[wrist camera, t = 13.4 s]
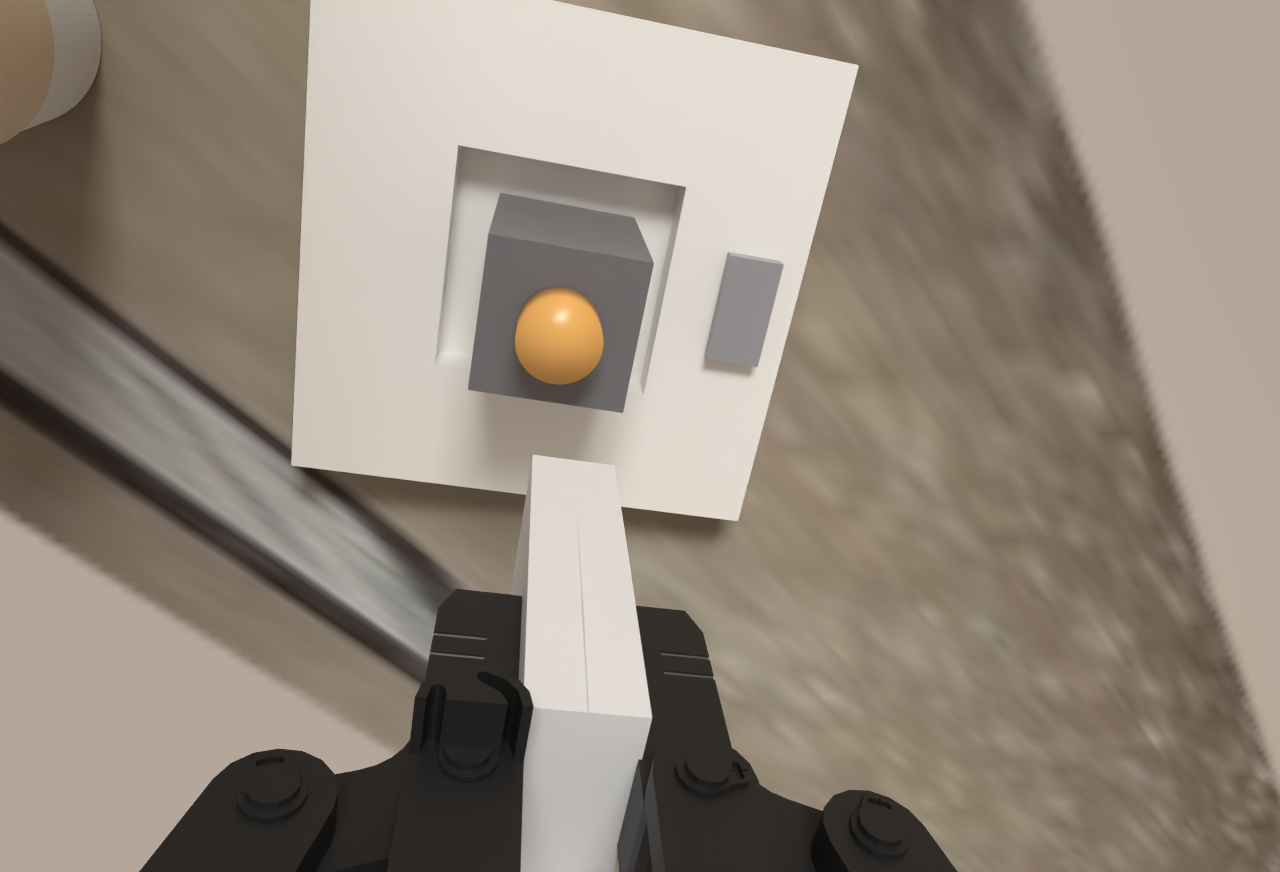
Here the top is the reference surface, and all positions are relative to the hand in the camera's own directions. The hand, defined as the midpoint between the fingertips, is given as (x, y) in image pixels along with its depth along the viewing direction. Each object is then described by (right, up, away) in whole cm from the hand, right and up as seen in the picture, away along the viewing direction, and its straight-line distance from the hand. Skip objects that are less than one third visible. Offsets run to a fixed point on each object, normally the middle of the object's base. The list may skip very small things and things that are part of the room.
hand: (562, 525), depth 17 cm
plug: (-2, +8, +18) cm, 20 cm away
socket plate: (-2, +8, +18) cm, 20 cm away
